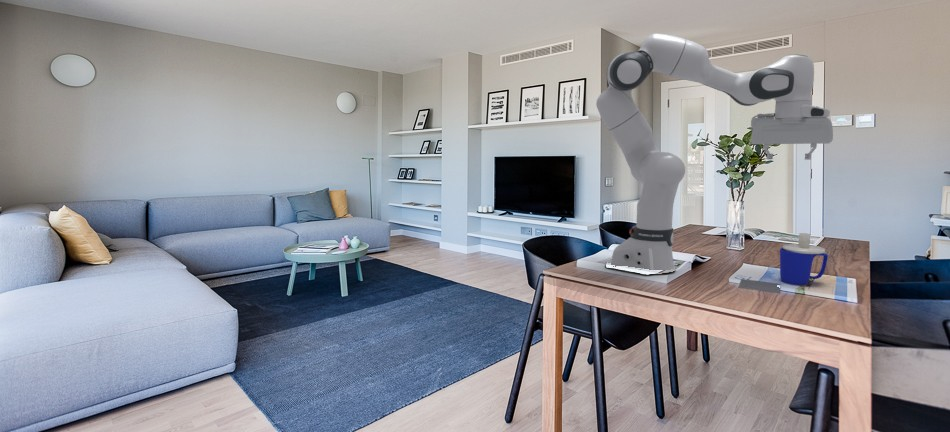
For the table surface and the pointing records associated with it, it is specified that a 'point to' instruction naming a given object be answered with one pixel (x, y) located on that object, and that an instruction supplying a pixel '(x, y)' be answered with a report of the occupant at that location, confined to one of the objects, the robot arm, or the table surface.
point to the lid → (804, 246)
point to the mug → (798, 267)
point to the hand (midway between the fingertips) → (788, 159)
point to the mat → (759, 285)
